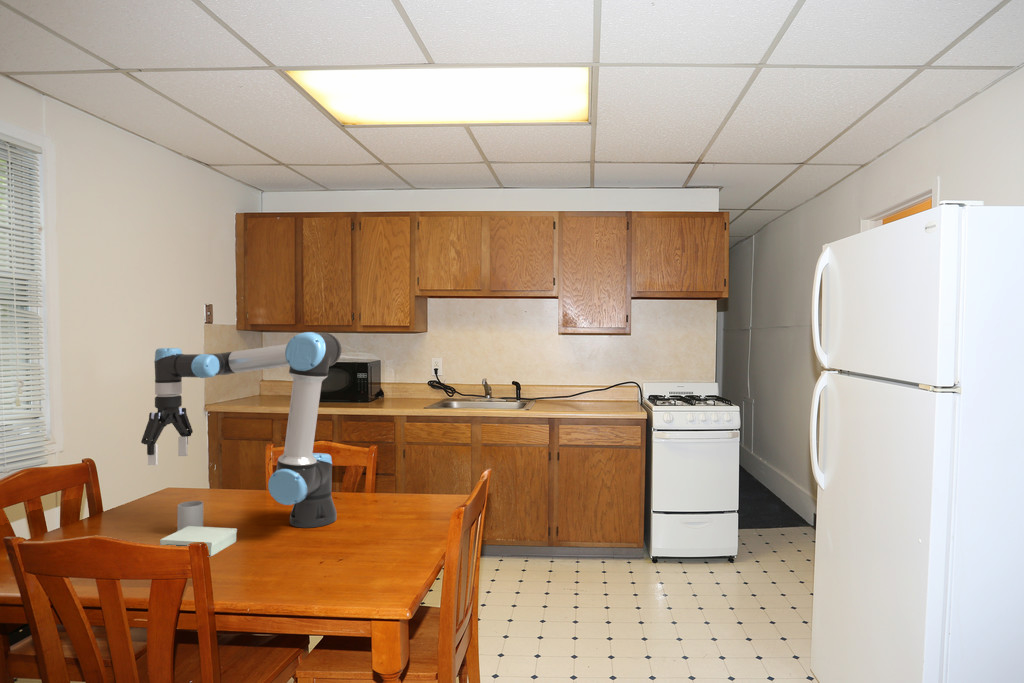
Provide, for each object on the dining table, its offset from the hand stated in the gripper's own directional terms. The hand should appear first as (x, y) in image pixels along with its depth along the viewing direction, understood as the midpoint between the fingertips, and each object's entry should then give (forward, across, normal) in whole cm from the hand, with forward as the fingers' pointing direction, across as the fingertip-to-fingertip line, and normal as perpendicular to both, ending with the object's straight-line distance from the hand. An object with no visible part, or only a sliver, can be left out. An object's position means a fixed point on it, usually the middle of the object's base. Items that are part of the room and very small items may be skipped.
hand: (168, 460), depth 185 cm
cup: (+22, +1, +8) cm, 24 cm away
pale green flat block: (+22, +14, +21) cm, 34 cm away
